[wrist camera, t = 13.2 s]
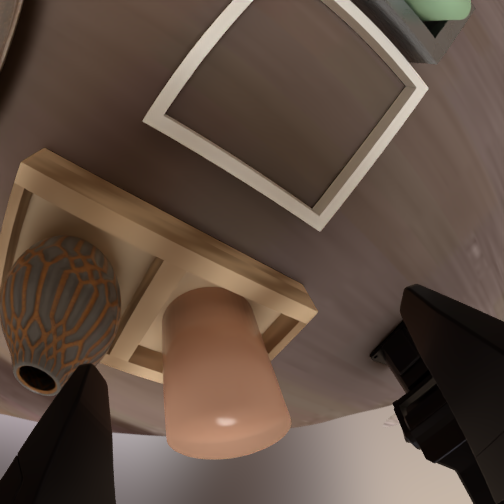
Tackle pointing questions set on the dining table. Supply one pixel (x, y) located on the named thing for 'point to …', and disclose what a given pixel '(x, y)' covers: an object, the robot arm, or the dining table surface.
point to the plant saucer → (8, 25)
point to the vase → (58, 311)
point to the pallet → (143, 258)
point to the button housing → (412, 29)
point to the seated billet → (218, 378)
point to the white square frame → (313, 216)
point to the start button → (440, 9)
